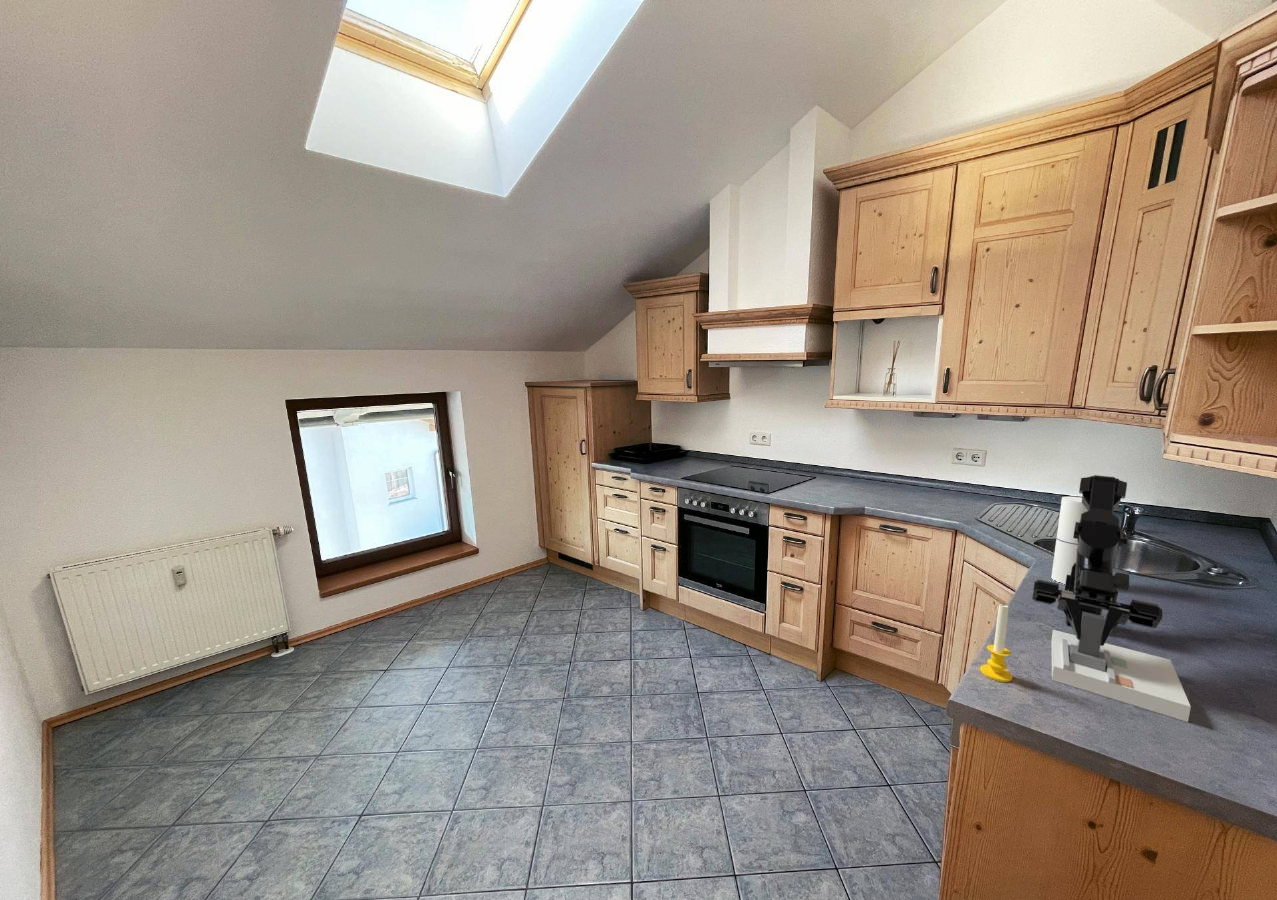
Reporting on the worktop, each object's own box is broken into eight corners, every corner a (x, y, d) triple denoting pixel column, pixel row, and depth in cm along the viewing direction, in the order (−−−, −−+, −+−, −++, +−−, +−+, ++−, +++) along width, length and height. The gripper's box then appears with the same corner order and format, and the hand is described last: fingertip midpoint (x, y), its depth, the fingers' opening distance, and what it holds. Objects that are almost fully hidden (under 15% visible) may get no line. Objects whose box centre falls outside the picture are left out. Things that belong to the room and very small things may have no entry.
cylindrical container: (1049, 574, 143) (1060, 495, 140) (1081, 579, 139) (1092, 498, 136) (1052, 582, 138) (1063, 500, 134) (1085, 588, 134) (1098, 504, 130)
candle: (977, 664, 99) (984, 595, 97) (1007, 669, 97) (1015, 599, 95) (984, 678, 94) (992, 606, 92) (1016, 684, 92) (1025, 611, 90)
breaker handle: (1069, 652, 98) (1075, 608, 96) (1102, 662, 94) (1110, 615, 93) (1070, 661, 95) (1076, 615, 93) (1104, 671, 91) (1112, 623, 90)
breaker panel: (1051, 641, 107) (1053, 625, 107) (1168, 673, 96) (1171, 655, 95) (1051, 679, 94) (1054, 661, 93) (1187, 722, 82) (1191, 701, 81)
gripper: (1039, 543, 100) (1031, 611, 94) (1169, 565, 88) (1170, 645, 82) (1035, 567, 107) (1028, 631, 101) (1155, 590, 95) (1155, 665, 89)
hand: (1090, 642), depth 93 cm, fingers closed on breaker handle, 3 cm apart
